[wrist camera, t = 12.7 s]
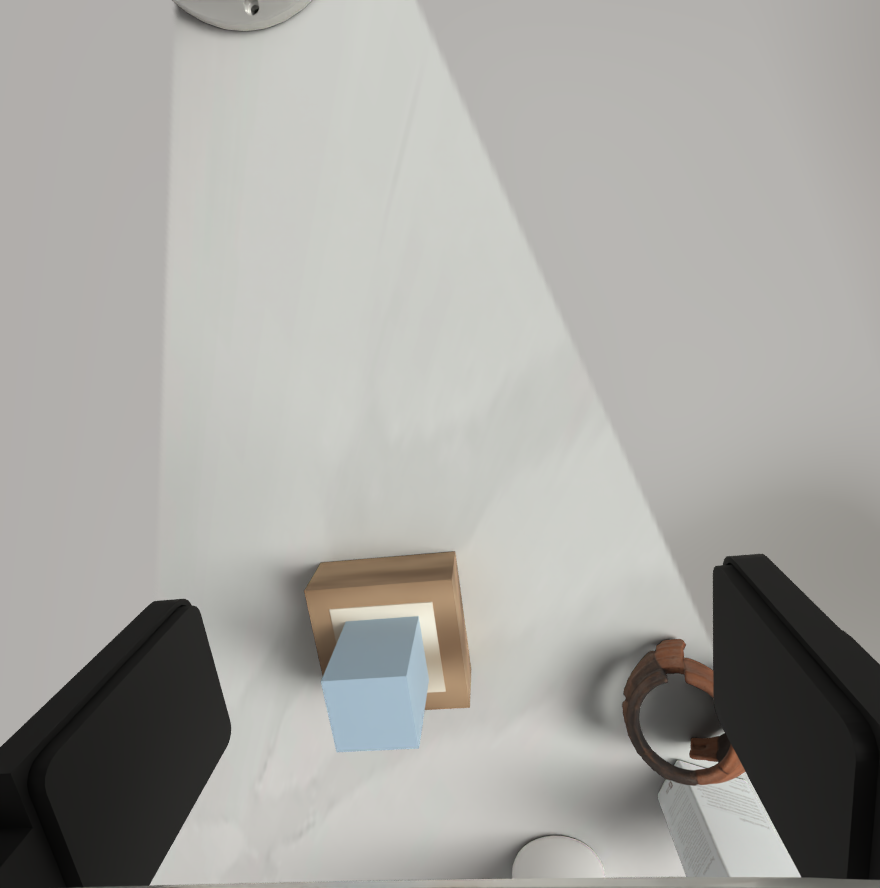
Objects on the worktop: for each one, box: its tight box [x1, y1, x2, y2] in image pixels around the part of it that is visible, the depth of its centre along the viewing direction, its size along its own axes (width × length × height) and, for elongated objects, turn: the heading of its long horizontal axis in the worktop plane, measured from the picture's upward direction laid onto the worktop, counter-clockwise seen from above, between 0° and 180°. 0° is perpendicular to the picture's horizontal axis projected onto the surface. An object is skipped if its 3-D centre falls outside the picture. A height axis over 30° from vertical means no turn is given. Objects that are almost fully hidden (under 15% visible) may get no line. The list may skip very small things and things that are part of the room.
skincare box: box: [658, 760, 801, 877], centre depth 39 cm, size 6×4×12 cm
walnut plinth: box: [304, 552, 471, 710], centre depth 41 cm, size 10×10×4 cm
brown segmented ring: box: [622, 639, 745, 786], centre depth 40 cm, size 12×10×8 cm
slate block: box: [321, 616, 429, 752], centre depth 36 cm, size 5×5×6 cm
